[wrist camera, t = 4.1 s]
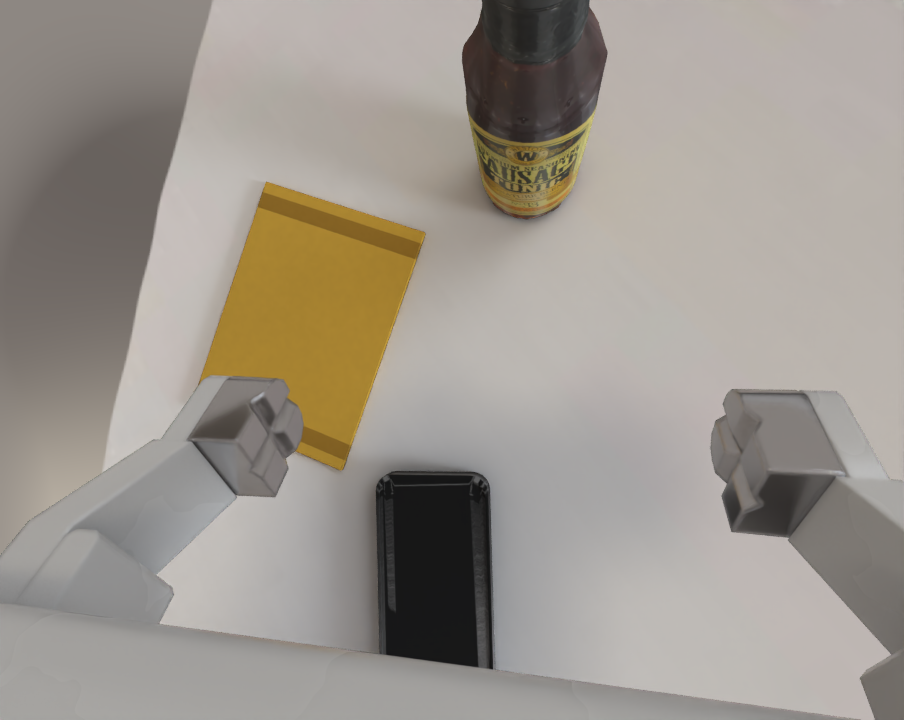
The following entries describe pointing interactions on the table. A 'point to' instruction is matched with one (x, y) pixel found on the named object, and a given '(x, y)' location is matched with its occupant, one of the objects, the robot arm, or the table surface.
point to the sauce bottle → (532, 98)
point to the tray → (315, 310)
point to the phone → (435, 567)
